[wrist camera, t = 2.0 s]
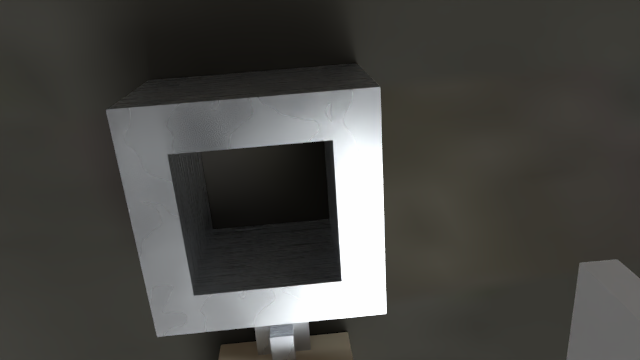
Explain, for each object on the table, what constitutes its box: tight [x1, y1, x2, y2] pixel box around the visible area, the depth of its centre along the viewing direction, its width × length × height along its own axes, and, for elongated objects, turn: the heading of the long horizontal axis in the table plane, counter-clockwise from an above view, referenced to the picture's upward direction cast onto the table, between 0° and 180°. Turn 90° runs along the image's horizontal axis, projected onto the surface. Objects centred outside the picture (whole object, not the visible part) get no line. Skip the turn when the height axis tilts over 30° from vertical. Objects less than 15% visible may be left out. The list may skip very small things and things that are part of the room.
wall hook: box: [254, 322, 311, 360], centre depth 23 cm, size 2×4×2 cm, turn 4°
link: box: [106, 63, 386, 337], centre depth 19 cm, size 8×8×5 cm
